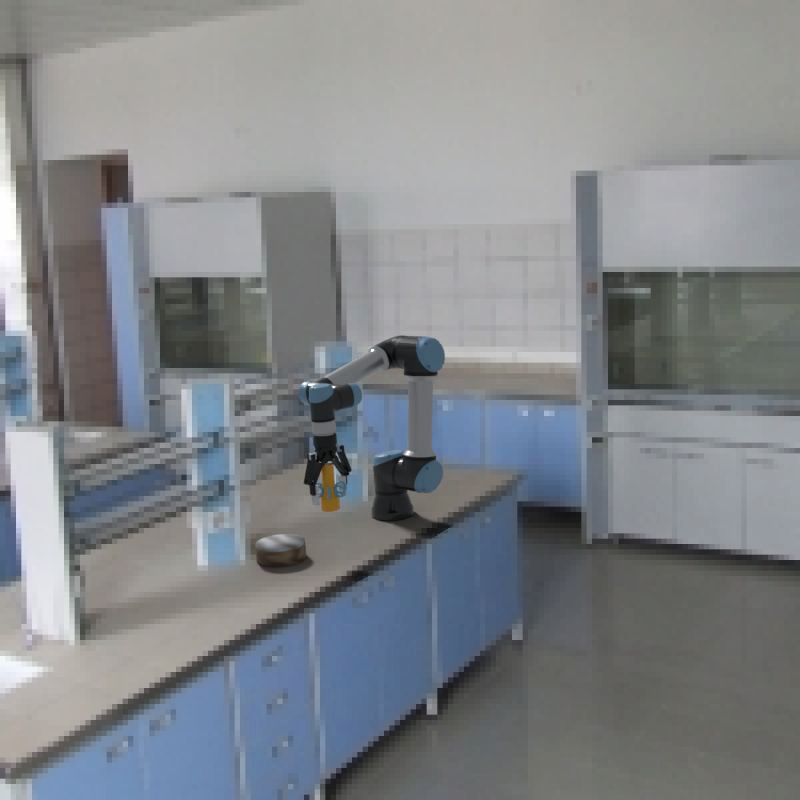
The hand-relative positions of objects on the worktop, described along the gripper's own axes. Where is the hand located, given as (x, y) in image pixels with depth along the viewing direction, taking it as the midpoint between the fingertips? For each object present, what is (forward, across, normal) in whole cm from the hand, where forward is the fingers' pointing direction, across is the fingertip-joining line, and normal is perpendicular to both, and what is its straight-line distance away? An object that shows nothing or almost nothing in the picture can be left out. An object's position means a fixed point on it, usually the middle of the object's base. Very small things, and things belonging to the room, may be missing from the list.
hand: (330, 499), depth 344 cm
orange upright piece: (+3, 0, 0) cm, 3 cm away
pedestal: (+19, +12, -13) cm, 26 cm away
